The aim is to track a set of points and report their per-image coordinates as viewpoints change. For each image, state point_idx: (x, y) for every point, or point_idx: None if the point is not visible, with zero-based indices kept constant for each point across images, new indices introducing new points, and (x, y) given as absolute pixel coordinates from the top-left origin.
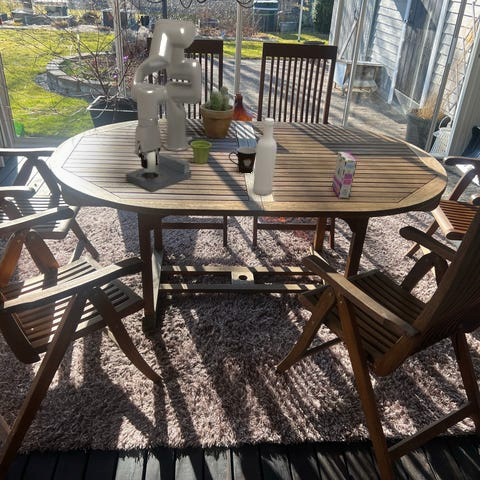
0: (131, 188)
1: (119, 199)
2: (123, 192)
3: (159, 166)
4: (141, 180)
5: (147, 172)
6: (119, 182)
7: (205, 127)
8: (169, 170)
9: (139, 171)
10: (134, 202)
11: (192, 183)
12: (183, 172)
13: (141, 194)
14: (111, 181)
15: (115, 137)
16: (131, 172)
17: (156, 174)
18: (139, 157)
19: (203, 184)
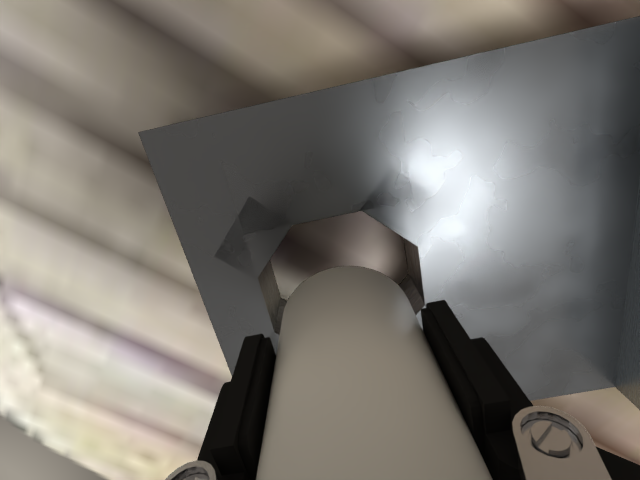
0: (160, 289)
1: (33, 389)
2: (83, 318)
3: (582, 127)
4: (222, 345)
5: (366, 213)
6: (102, 135)
7: None
8: (573, 276)
9: (305, 149)
10: (111, 452)
11: (568, 407)
12: (621, 381)
13: (189, 392)
14: (33, 71)
15: None
16: (212, 131)
17: (419, 276)
18: (168, 477)
19: (607, 444)
